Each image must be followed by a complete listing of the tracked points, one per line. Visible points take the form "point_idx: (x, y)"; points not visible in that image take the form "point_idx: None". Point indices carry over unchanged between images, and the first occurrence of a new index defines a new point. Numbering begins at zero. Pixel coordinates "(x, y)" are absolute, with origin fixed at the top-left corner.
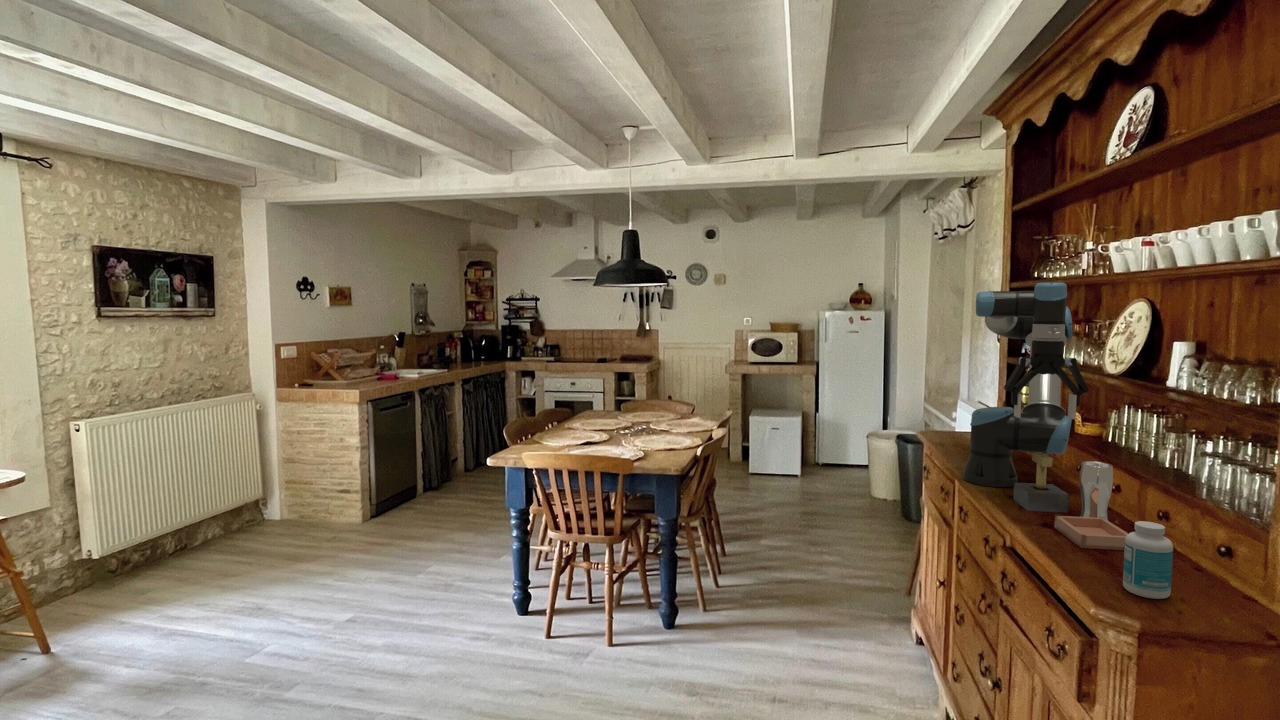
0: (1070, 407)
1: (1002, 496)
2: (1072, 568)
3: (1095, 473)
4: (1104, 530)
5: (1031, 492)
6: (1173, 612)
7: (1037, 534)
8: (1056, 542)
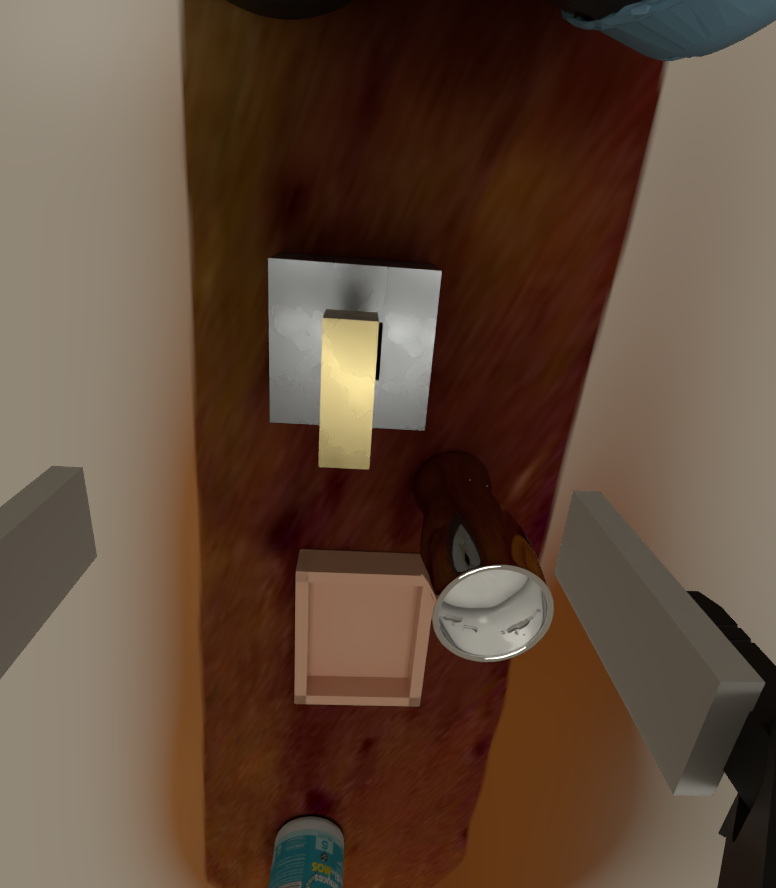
0: (606, 600)
1: (251, 199)
2: (225, 770)
3: (452, 634)
4: (417, 588)
5: (285, 417)
6: None
7: (227, 604)
8: (254, 650)
